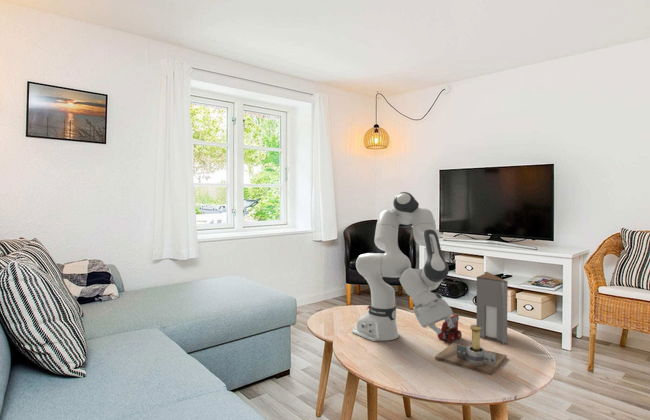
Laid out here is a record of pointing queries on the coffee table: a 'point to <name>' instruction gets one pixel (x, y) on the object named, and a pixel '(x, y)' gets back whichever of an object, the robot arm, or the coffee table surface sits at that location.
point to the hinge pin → (475, 337)
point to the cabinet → (492, 307)
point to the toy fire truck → (450, 330)
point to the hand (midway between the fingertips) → (446, 330)
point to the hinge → (476, 356)
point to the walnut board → (451, 357)
